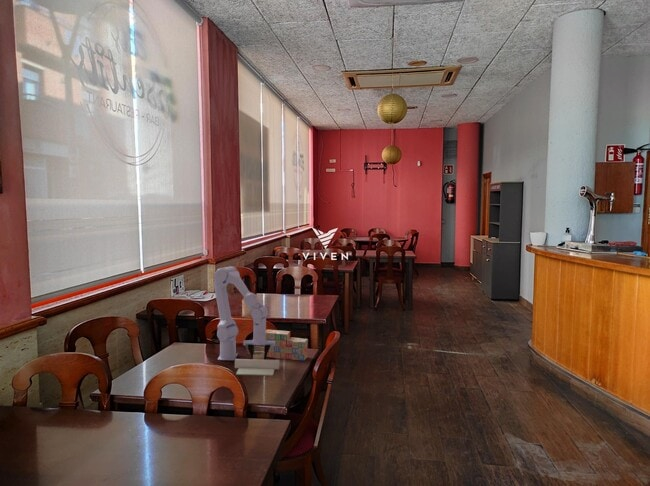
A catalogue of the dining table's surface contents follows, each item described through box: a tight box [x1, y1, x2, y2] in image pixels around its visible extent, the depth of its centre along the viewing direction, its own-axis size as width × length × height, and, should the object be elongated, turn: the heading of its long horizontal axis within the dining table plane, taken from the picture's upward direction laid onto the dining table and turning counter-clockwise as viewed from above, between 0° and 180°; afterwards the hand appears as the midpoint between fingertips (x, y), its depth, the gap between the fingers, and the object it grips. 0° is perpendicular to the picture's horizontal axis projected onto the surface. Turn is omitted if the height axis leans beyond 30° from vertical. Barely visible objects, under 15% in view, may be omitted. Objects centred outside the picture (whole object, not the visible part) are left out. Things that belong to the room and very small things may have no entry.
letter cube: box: [253, 350, 264, 360], centre depth 207 cm, size 5×5×5 cm
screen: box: [234, 358, 280, 370], centre depth 200 cm, size 1×20×4 cm, turn 91°
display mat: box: [235, 368, 275, 377], centre depth 195 cm, size 7×16×1 cm, turn 91°
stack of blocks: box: [262, 329, 309, 362], centre depth 217 cm, size 21×6×12 cm, turn 77°
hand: (258, 360), depth 207 cm, fingers closed on letter cube, 5 cm apart
